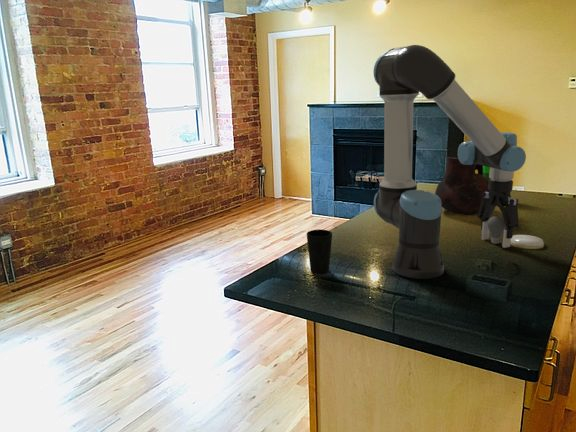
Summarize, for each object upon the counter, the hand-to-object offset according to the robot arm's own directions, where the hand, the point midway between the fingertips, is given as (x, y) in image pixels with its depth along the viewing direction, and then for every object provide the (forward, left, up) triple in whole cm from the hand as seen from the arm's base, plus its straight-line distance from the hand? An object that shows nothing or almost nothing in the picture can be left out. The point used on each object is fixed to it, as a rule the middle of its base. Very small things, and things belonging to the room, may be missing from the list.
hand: (495, 242), depth 165 cm
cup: (-66, +3, 0) cm, 66 cm away
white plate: (+9, -5, 0) cm, 10 cm away
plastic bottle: (+45, +50, 0) cm, 67 cm away
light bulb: (0, 0, 0) cm, 0 cm away
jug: (+20, +38, 0) cm, 43 cm away
